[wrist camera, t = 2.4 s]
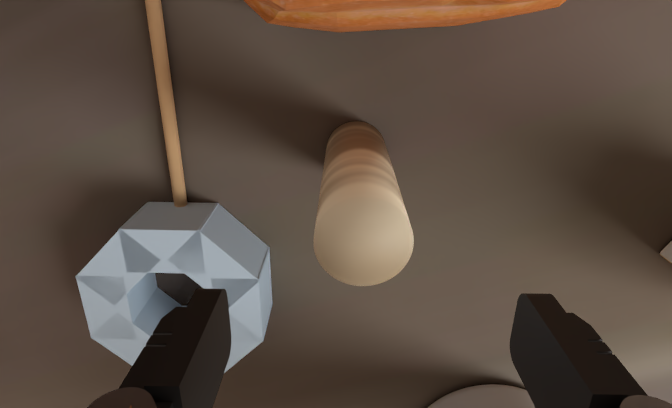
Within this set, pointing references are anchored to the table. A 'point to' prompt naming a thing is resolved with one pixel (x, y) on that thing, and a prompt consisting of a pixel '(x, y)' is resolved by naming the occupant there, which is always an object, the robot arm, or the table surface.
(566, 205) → the table surface
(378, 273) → the dowel
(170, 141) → the wooden stick
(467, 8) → the bread
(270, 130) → the table surface
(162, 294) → the bead
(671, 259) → the small box
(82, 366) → the table surface
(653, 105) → the table surface
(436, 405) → the cylinder vase
